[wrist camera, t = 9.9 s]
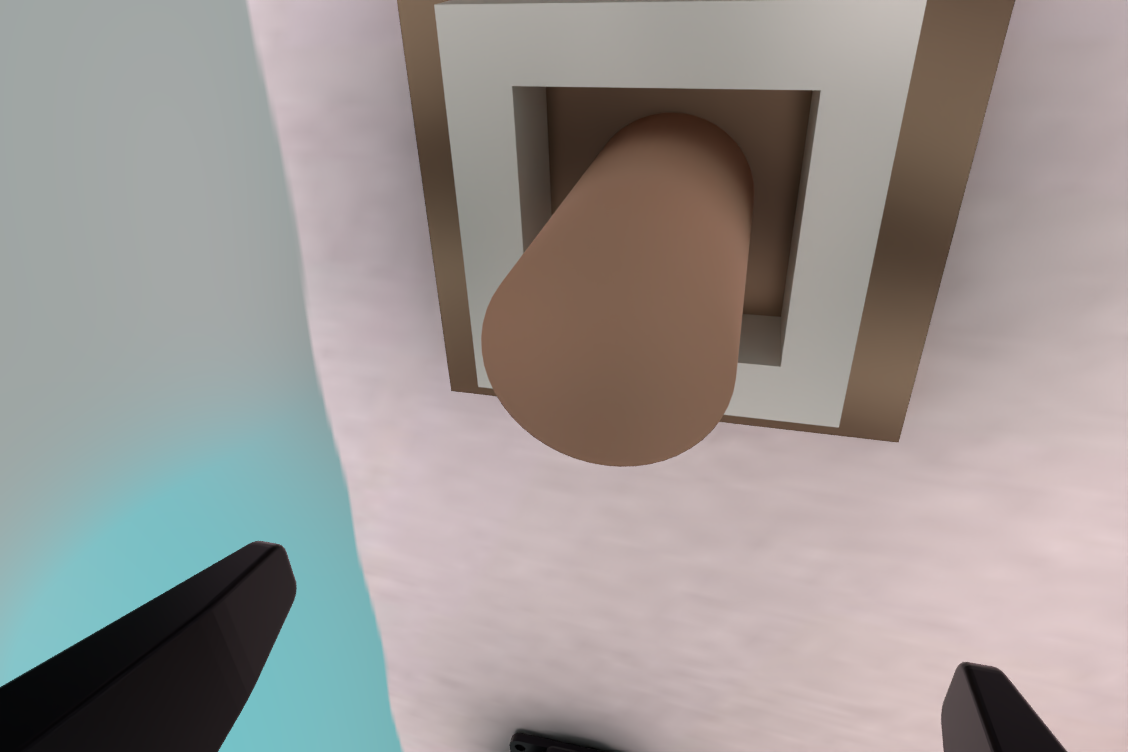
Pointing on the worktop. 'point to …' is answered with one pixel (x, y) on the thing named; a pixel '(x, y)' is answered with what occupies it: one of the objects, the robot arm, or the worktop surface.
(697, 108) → the board
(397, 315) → the worktop surface
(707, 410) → the terracotta pin
